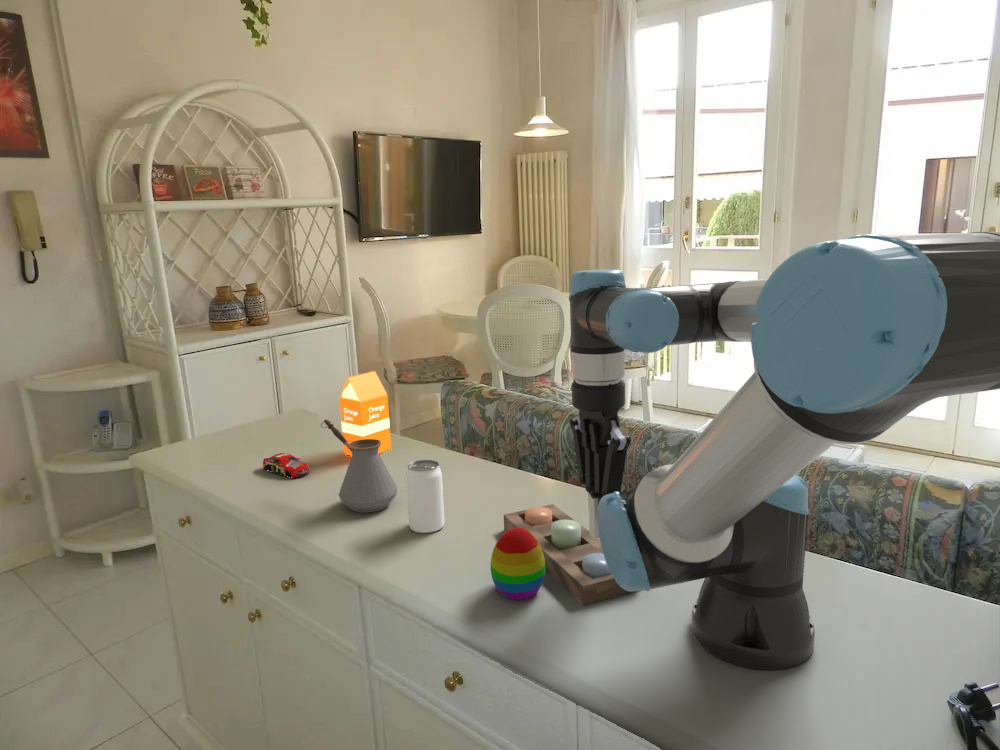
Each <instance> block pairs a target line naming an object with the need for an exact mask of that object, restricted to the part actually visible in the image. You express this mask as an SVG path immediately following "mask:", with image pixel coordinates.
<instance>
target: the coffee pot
mask: <svg viewBox="0 0 1000 750" xmlns="http://www.w3.org/2000/svg"><path fill="white" fill-rule="evenodd" d="M324 423H325V425H326V426H323V424H324ZM320 427H321V428H322V429H326V428H328V429H329V430H331V432H332V434H333V435H334V436H335V437H336V438H337V439H338V440H339V441H340V442H341V443H343V444H345V445H346V446H347V447H348V449H349V450H350V451H351V452H352V457H350V461H349V464H348V466H347V469H346V471H345V472H346V473H345V475H344V477H343V480H342V484H341V486H340V490H339V493H338V496H339V499H340V501H341V502H342V504H344V505H345V506H346V507H347V508H349V509H350V510H351V511H353V512H356V513H372V512H377V511H380V510H383V509H385V508H387V507H388V506H389V504H390V503H392V501H393V500H394V499H395V497H396V495H397V492H398V486H397V485H396V482H395V481H394V479H393V477H392V475H391V474H390V471H389V470H388V467H387V466H386V464H385V462H384V460H383V459H382V457H381V455H379V453H378V451H379V446H380V445H381V441H380V440H377V439H362V440H357V441H353V442H351V443H350V444H349V443H348V441H347V440H346V439H345V438H344V436H343V433H341V431H340V430H339V429H337V428H336V427H335V426H334V423H331V420H328V419H324V420H323V421H322V422H321V423H320Z"/></svg>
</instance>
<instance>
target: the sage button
mask: <svg viewBox="0 0 1000 750" xmlns="http://www.w3.org/2000/svg"><path fill="white" fill-rule="evenodd" d="M573 520H574V519H573ZM573 520H558V521H555V522H553V523H552V525H551V540H552V545H553V546H554V547H556V548H557V549H558V550H559V551H560V550H564V549H568V548H572V547H576V546H580V545H581V526H582V525H581V523H580V522H578V521H576V520H575V521H573Z"/></svg>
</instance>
